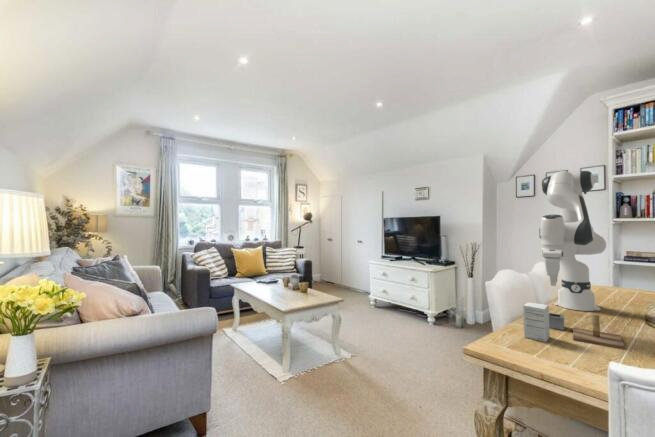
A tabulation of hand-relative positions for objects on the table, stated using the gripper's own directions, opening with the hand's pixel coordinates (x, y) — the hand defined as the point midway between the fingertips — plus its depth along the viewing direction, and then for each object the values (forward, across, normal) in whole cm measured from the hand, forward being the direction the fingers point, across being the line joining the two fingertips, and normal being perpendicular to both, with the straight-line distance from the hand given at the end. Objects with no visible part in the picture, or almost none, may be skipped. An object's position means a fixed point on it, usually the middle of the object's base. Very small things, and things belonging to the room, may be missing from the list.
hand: (554, 283), depth 130 cm
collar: (+18, 0, 0) cm, 19 cm away
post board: (+19, +7, +13) cm, 24 cm away
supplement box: (+19, +19, -5) cm, 27 cm away
